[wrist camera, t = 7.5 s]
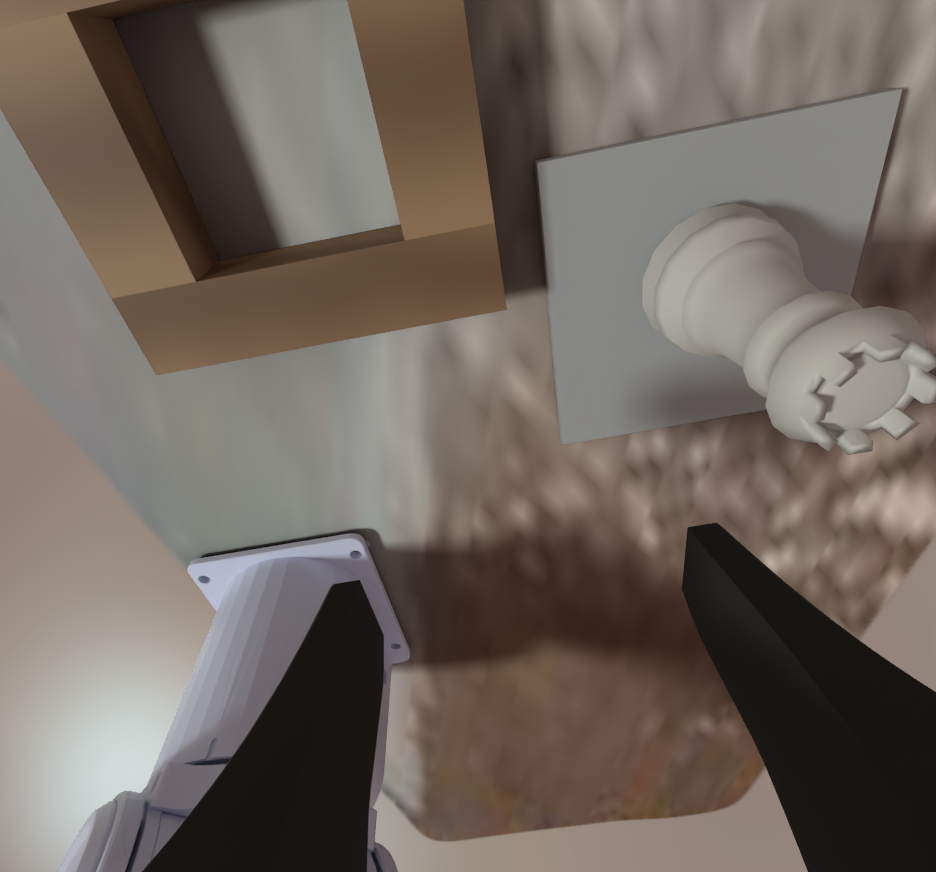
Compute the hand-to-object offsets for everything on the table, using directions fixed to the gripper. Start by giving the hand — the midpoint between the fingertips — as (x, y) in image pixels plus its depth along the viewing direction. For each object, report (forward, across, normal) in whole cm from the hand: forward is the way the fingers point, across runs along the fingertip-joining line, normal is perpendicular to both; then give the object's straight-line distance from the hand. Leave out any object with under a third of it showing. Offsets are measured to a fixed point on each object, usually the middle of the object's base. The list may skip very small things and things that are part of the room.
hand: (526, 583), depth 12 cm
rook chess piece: (+9, -7, -3) cm, 12 cm away
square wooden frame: (+9, +5, -9) cm, 14 cm away
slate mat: (+9, -7, -2) cm, 12 cm away
